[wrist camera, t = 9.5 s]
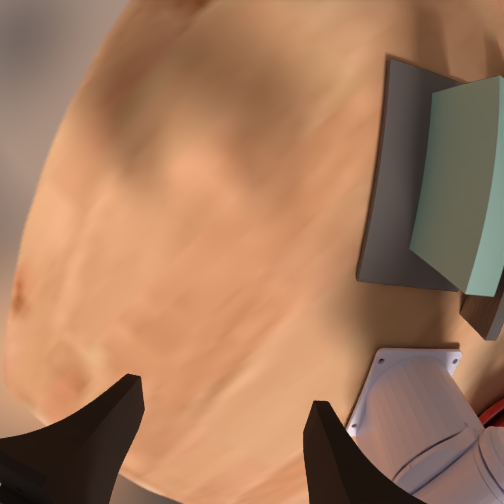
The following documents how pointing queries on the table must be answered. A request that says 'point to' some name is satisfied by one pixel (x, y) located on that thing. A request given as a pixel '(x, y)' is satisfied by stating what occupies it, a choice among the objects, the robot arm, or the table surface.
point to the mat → (401, 181)
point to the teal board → (464, 187)
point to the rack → (485, 312)
